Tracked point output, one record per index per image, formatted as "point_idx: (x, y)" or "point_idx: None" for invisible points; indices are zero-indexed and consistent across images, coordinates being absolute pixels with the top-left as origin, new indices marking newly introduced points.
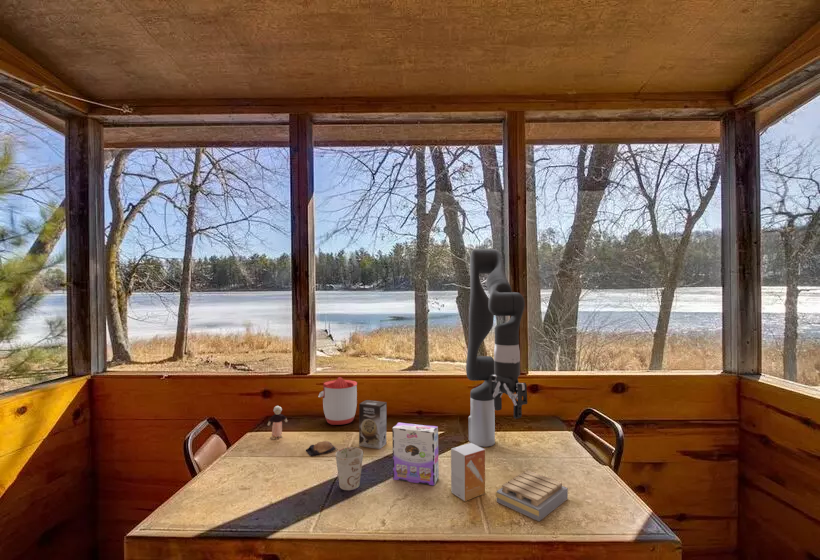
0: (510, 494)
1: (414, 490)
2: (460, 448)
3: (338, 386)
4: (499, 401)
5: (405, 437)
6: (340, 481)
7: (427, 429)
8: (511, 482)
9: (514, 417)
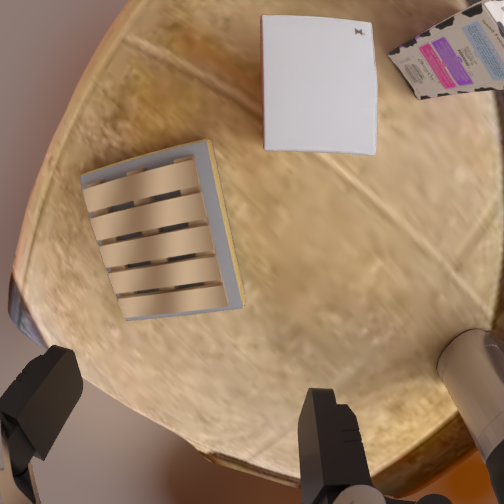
0: (167, 164)
1: (392, 4)
2: (344, 51)
3: None
4: (307, 475)
5: None
6: None
7: None
8: (189, 199)
9: (58, 347)
